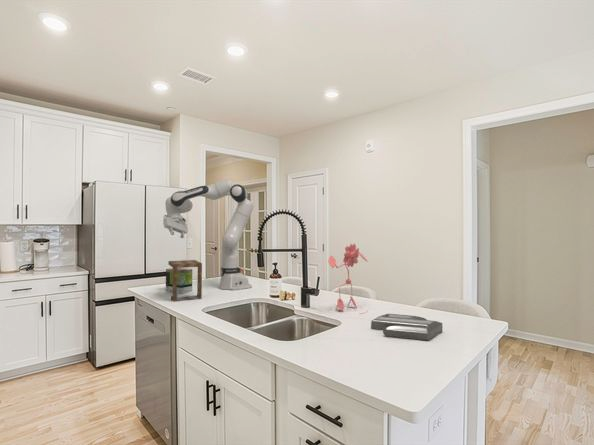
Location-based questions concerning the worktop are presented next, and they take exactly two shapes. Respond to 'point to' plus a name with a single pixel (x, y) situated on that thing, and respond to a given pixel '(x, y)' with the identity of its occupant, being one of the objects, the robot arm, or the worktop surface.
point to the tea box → (179, 280)
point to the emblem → (407, 326)
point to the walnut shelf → (176, 265)
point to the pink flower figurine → (350, 258)
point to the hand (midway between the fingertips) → (177, 236)
